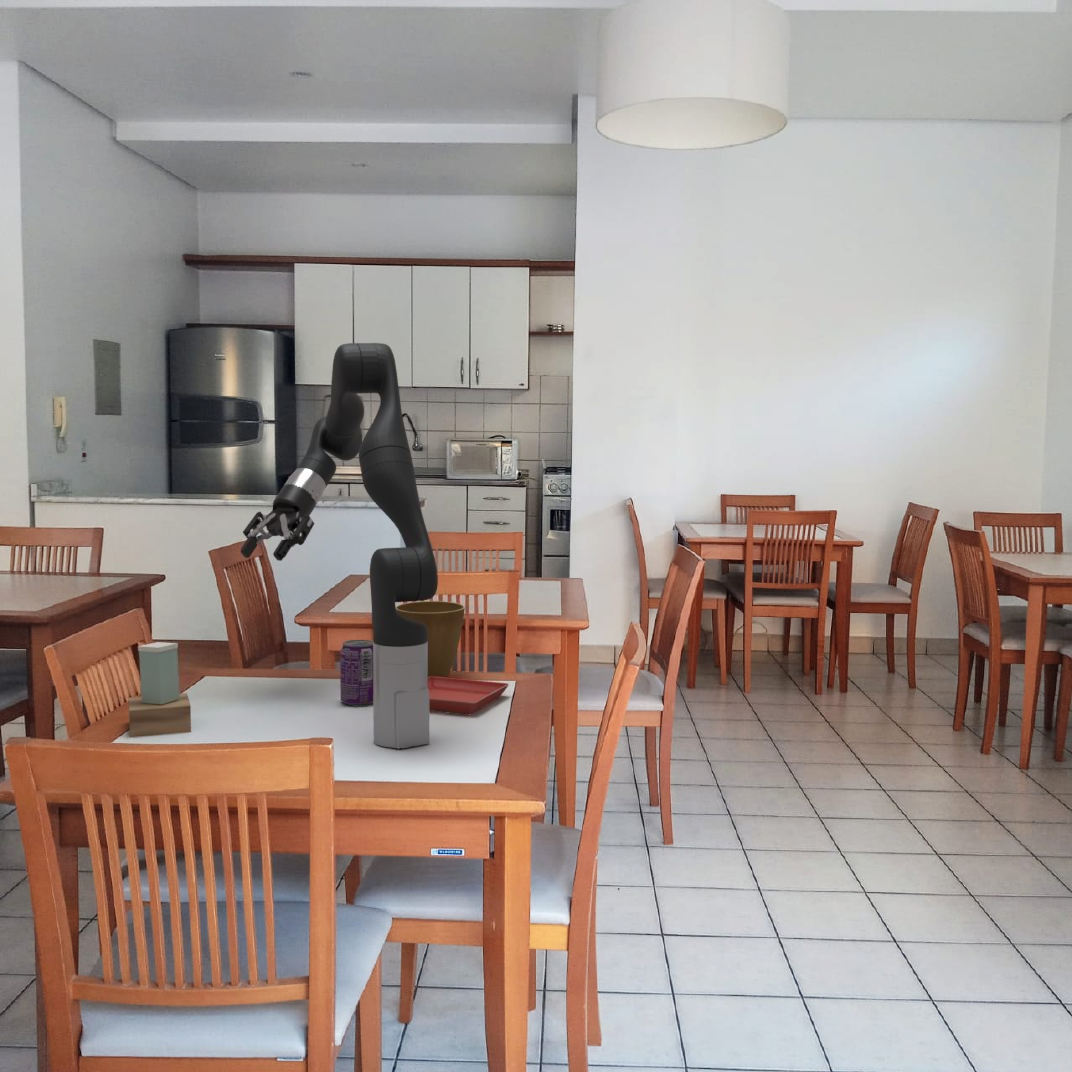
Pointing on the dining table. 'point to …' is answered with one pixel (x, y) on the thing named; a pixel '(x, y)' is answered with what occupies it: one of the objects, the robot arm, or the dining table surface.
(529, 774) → the dining table surface
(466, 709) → the plant saucer
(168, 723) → the walnut box
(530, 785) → the dining table surface
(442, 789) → the dining table surface
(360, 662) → the beverage can
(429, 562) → the robot arm
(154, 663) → the tea tin
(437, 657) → the plant pot
